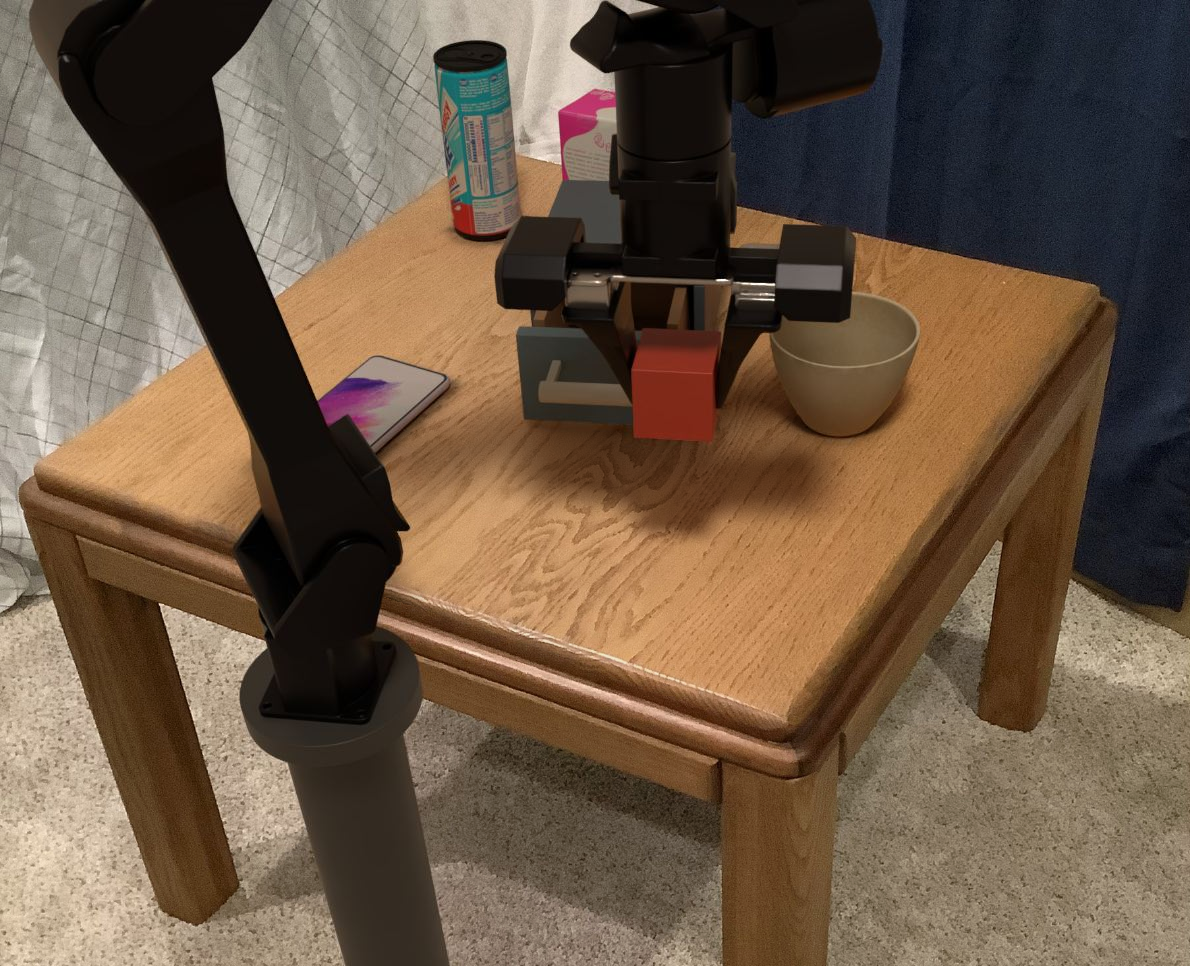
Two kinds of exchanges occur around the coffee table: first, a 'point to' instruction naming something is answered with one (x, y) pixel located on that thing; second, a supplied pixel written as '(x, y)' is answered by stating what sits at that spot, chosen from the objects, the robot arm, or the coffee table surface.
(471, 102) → the teal canister
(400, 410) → the smartphone
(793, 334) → the bowl
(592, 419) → the drawer
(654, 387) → the block
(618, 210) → the cabinet
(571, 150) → the supplement box
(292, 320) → the coffee table surface
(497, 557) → the coffee table surface
